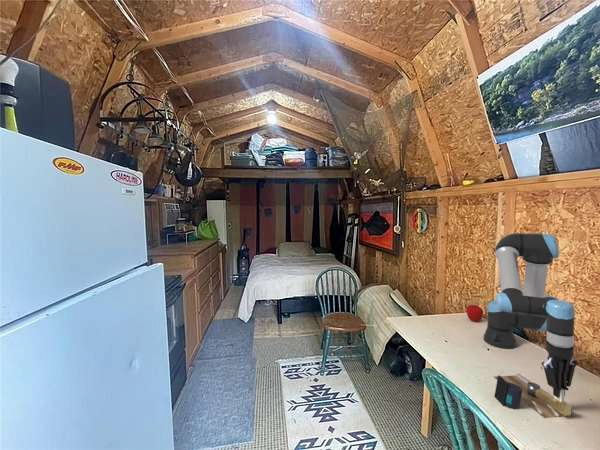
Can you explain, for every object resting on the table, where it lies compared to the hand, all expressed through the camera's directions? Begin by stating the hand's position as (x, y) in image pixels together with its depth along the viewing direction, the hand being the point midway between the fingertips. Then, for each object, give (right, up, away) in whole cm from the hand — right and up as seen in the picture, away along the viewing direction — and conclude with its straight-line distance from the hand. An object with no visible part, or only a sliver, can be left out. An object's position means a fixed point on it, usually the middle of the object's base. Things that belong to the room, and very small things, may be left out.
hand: (558, 404), depth 106 cm
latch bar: (-2, -1, +3) cm, 4 cm away
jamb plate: (-4, -3, +9) cm, 10 cm away
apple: (+20, +3, +84) cm, 86 cm away
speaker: (-16, -3, +4) cm, 17 cm away
